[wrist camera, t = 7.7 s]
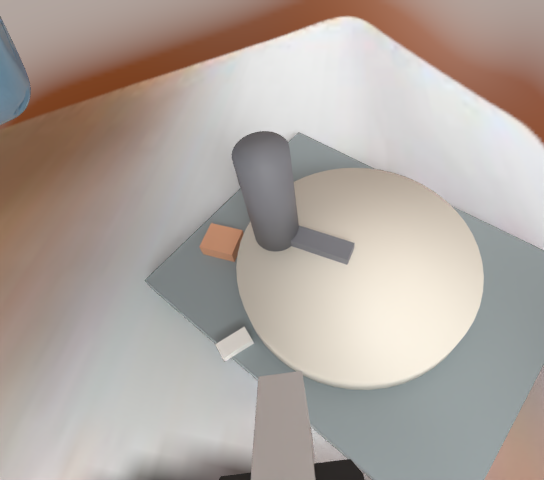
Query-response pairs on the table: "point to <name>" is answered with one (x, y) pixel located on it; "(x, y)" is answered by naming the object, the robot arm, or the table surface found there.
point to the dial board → (401, 398)
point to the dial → (352, 269)
